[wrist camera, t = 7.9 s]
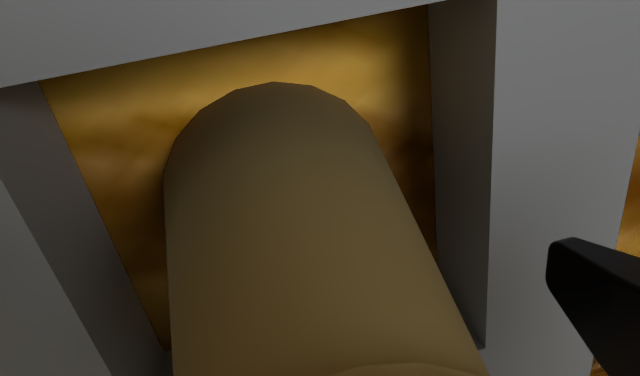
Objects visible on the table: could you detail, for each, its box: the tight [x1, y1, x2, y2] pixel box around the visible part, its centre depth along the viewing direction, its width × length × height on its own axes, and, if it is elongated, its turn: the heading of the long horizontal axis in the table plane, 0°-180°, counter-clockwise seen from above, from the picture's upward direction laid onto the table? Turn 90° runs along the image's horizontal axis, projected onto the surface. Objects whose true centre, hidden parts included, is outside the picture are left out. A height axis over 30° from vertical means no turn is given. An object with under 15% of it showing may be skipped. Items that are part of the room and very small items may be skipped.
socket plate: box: [0, 0, 640, 376], centre depth 11 cm, size 16×16×3 cm
